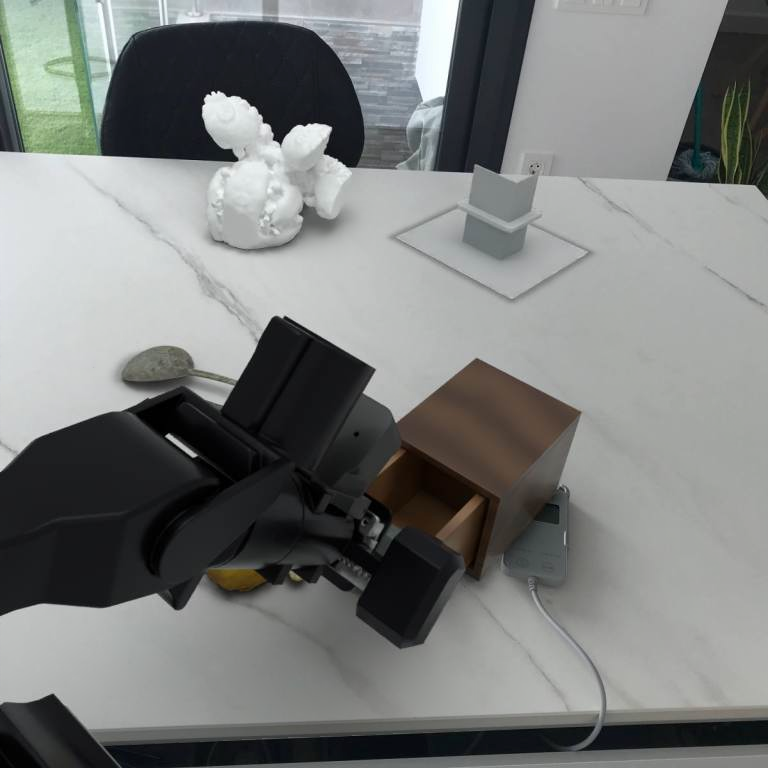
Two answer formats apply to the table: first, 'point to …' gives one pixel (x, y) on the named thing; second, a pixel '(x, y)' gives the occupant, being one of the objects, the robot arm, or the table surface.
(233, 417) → the robot arm
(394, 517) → the drawer
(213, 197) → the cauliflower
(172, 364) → the soupspoon
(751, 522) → the table surface
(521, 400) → the cabinet
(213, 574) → the fruit
